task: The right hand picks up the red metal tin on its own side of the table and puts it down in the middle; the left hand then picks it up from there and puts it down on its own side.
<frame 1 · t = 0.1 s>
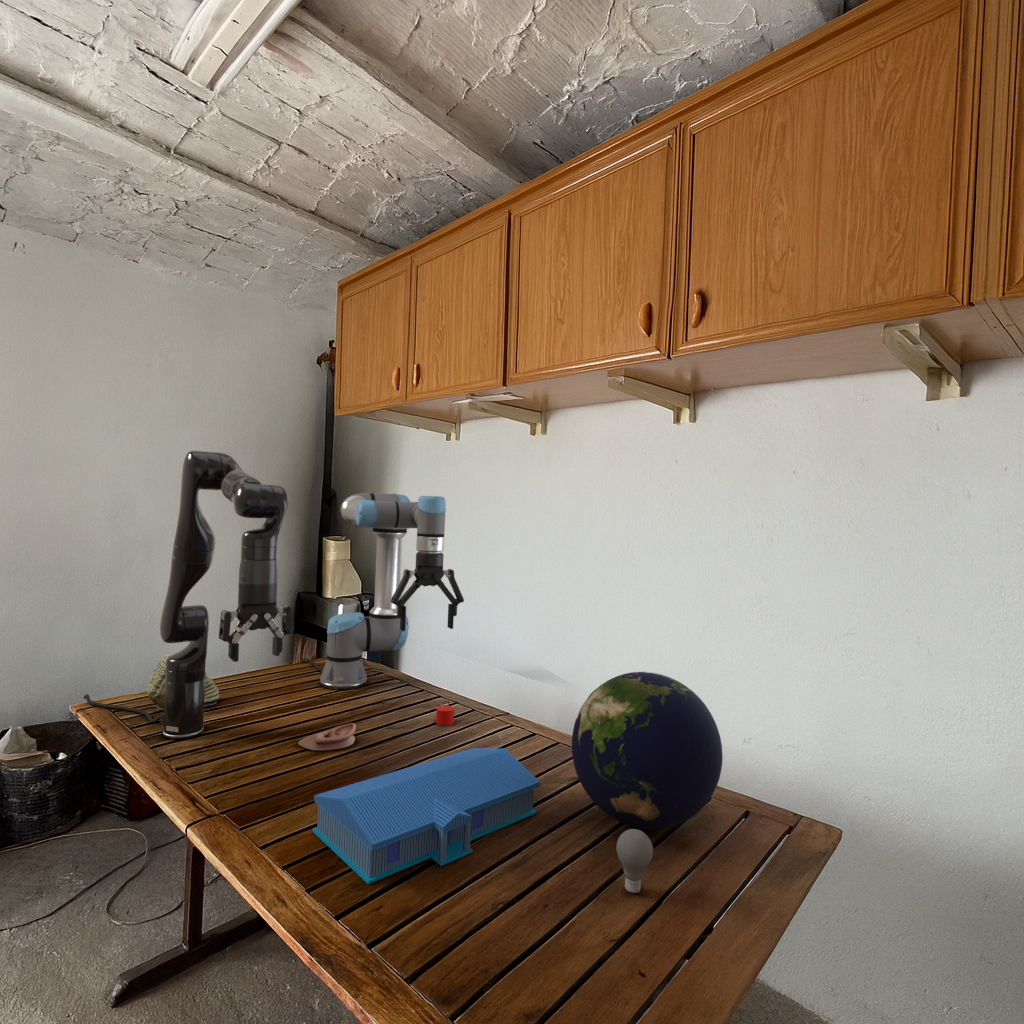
left hand: (255, 657, 132), 29 cm above the table, tool pointing down, fingers open, 8 cm apart
right hand: (426, 629, 174), 28 cm above the table, tool pointing down, fingers open, 13 cm apart
globe: (641, 821, 129), on the table
fossil: (183, 706, 185), on the table
tin: (444, 722, 181), on the table
anatomical model: (327, 743, 162), on the table
model building: (433, 825, 124), on the table
light bulb: (632, 891, 106), on the table
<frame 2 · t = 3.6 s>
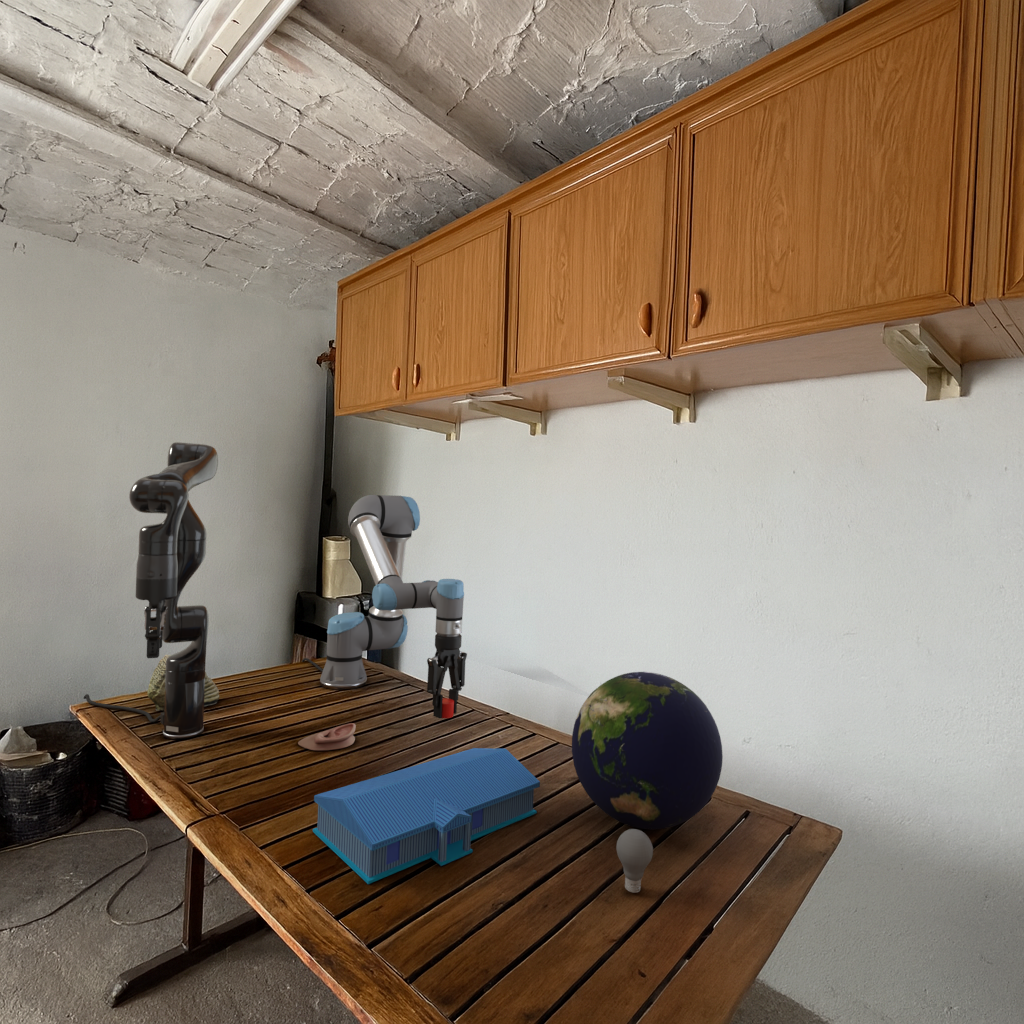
left hand: (154, 652, 132), 29 cm above the table, tool pointing down, fingers open, 8 cm apart
right hand: (444, 714, 181), 2 cm above the table, tool pointing down, fingers closed on tin, 5 cm apart
tin: (444, 715, 181), point 2 cm above the table, touching right hand
everything else where it was.
when the right hand's fingers open (1 cm above the table, at t = 6.2 s): tin stays where it is, on the table.
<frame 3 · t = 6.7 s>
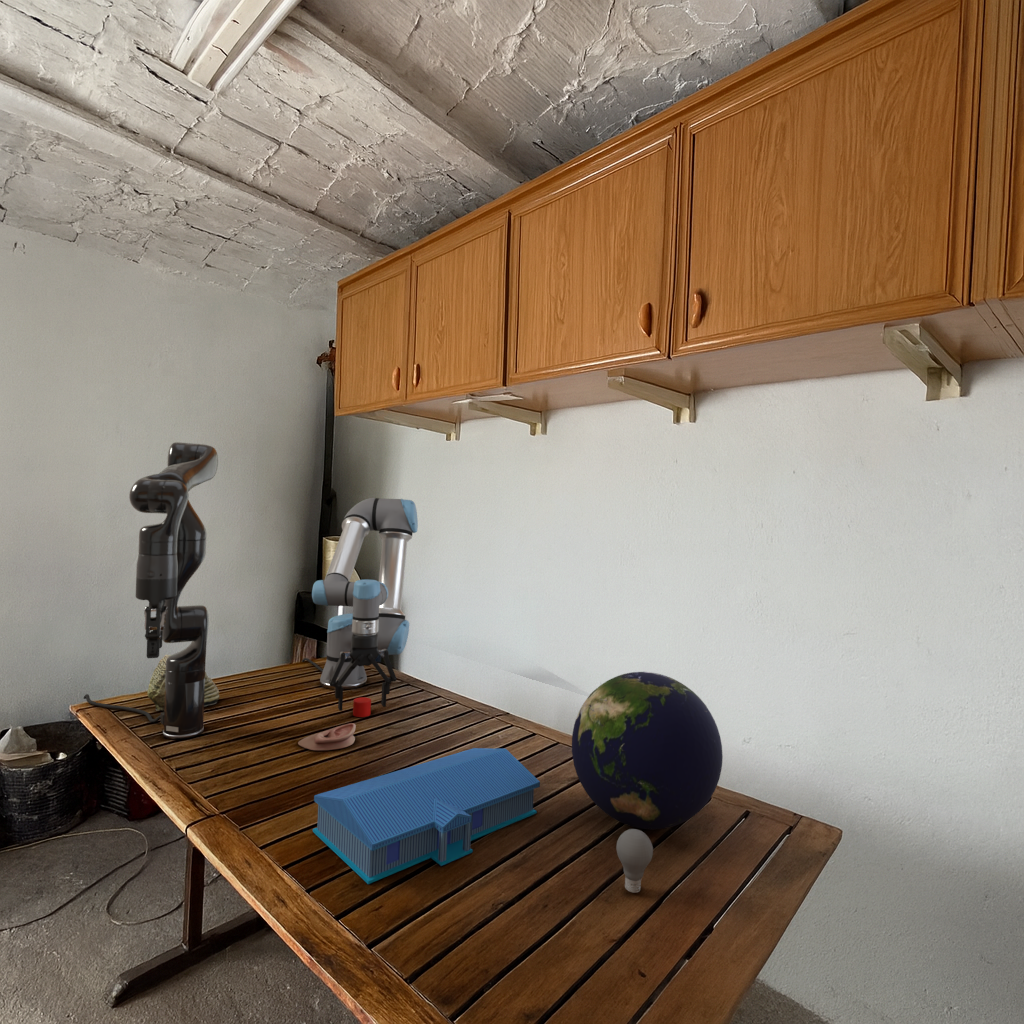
left hand: (154, 652, 132), 29 cm above the table, tool pointing down, fingers open, 8 cm apart
right hand: (362, 707, 185), 2 cm above the table, tool pointing down, fingers open, 12 cm apart
tin: (361, 714, 185), on the table
everything else where it was.
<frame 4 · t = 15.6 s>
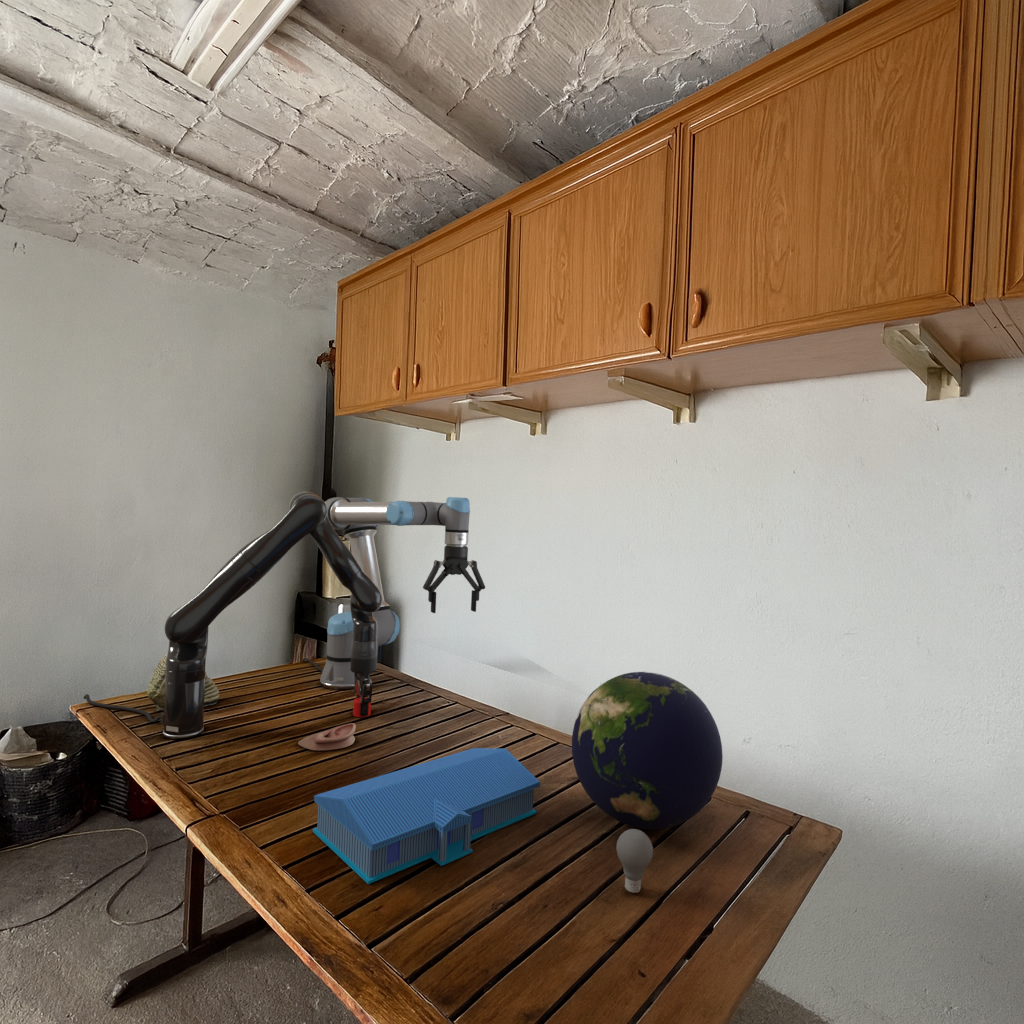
left hand: (361, 712, 185), 1 cm above the table, tool pointing down, fingers closed on tin, 5 cm apart
right hand: (453, 611, 203), 28 cm above the table, tool pointing down, fingers open, 13 cm apart
tin: (361, 714, 185), on the table, touching left hand
everything else where it was.
when the left hand's fingers open (2 cm above the table, at t = 22.5 s): tin stays where it is, on the table.
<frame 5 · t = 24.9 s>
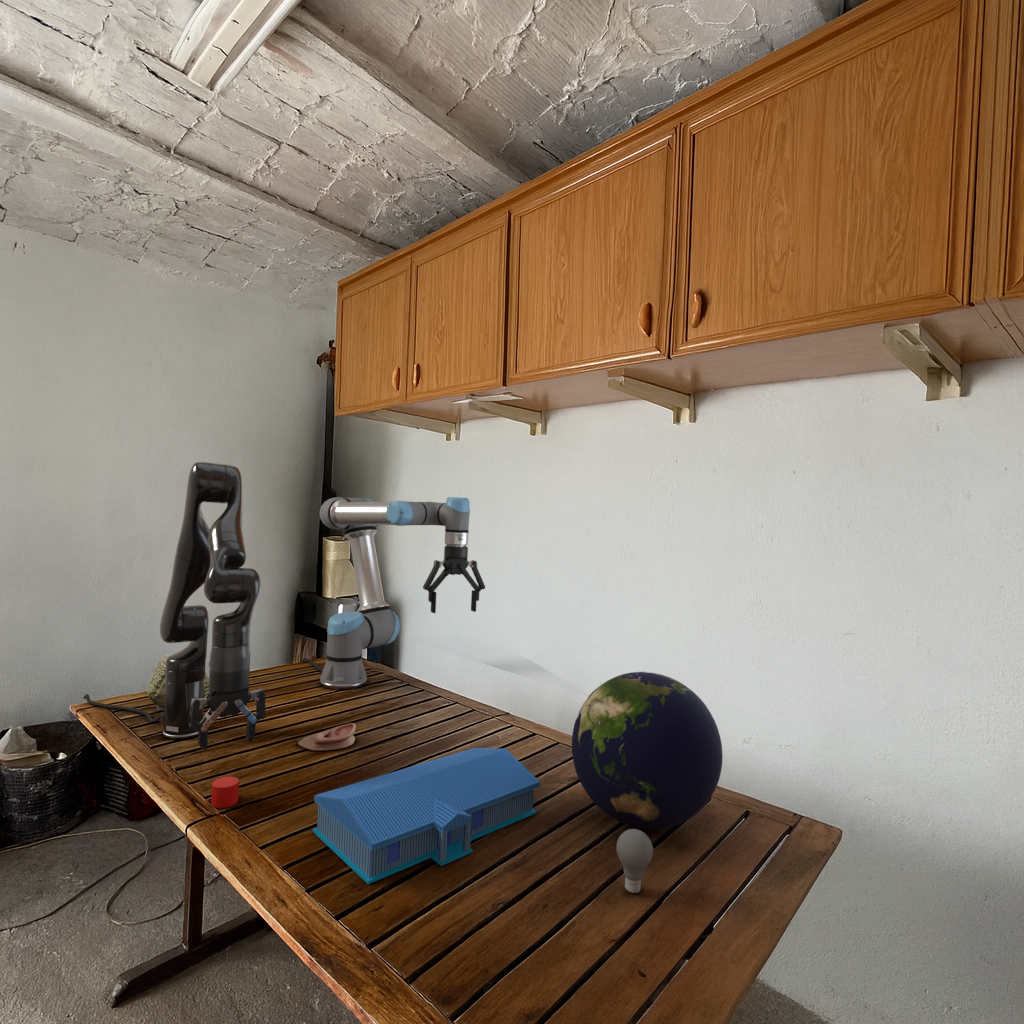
left hand: (227, 744, 130), 12 cm above the table, tool pointing down, fingers open, 8 cm apart
right hand: (453, 611, 203), 28 cm above the table, tool pointing down, fingers open, 13 cm apart
tin: (224, 802, 130), on the table
everything else where it was.
at the end: tin inside the target area (0.1 cm from its centre), on the table; tin tilted 0°; the two hands never held the tin at the same time; the left hand is holding nothing; the right hand is holding nothing; tin at rest at the end (0.0 cm/s) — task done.
